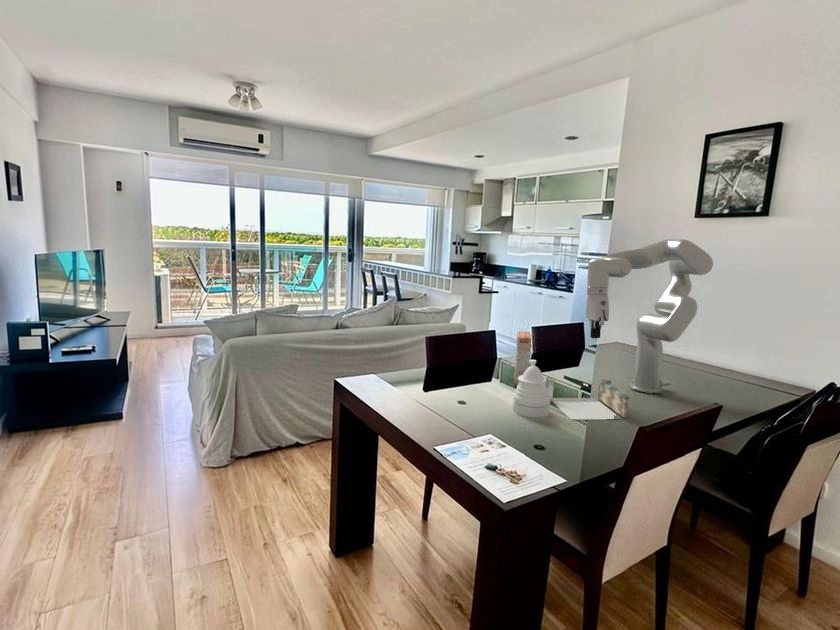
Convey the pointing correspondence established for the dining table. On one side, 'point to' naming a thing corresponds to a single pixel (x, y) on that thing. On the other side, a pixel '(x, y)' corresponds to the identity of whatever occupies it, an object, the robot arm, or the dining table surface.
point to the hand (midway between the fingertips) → (595, 337)
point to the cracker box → (522, 354)
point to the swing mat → (585, 410)
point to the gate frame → (550, 390)
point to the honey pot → (532, 393)
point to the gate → (613, 398)
